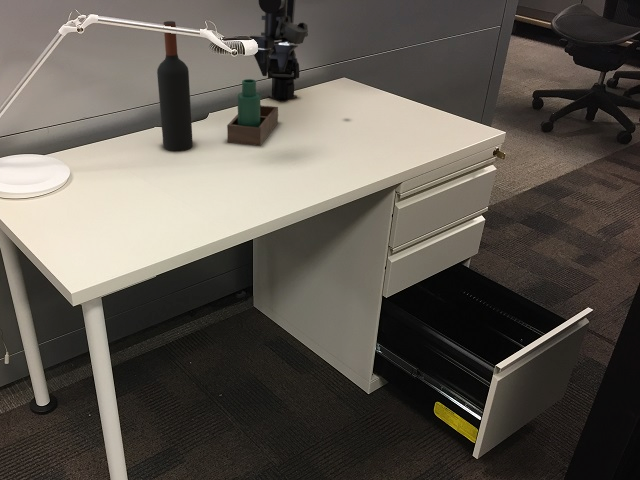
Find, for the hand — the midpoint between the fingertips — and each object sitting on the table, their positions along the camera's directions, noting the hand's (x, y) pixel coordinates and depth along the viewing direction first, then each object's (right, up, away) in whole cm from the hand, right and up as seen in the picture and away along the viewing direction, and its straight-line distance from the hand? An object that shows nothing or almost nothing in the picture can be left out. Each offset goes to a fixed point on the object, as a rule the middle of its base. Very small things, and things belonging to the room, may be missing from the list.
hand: (273, 74), depth 181 cm
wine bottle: (-25, -22, -9) cm, 34 cm away
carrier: (-5, -16, -2) cm, 17 cm away
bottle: (-7, -18, -6) cm, 20 cm away
